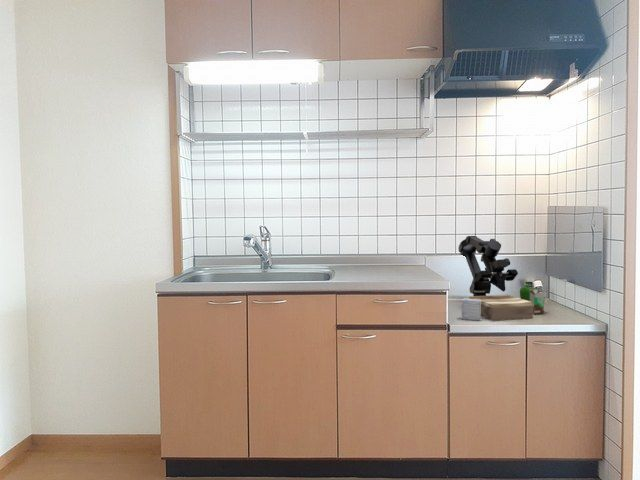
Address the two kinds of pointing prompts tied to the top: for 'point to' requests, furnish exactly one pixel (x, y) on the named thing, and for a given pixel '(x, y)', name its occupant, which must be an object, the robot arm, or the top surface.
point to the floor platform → (504, 310)
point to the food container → (537, 300)
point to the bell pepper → (525, 292)
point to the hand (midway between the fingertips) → (504, 290)
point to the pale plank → (505, 302)
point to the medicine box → (471, 309)
